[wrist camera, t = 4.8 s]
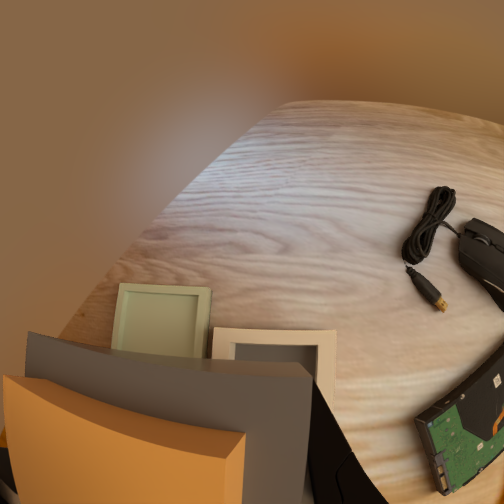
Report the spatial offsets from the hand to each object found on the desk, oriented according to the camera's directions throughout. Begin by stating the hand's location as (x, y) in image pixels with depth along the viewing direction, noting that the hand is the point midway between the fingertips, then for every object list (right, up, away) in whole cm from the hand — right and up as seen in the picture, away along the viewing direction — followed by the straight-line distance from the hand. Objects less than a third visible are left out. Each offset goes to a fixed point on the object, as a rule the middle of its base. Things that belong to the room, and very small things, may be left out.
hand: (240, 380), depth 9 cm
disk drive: (+23, -11, +7) cm, 26 cm away
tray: (-8, -3, +14) cm, 17 cm away
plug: (+1, -4, +6) cm, 7 cm away
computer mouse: (+22, +2, +12) cm, 25 cm away
